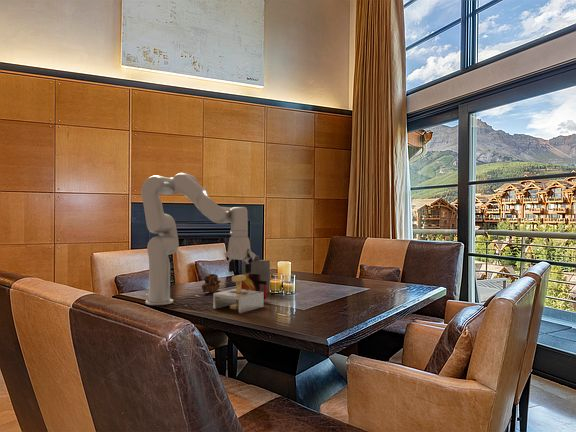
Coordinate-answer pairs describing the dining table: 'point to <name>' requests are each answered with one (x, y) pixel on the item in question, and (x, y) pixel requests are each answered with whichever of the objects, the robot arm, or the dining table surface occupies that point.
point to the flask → (260, 271)
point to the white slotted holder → (246, 299)
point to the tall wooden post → (237, 289)
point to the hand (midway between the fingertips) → (239, 272)
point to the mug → (253, 283)
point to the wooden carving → (211, 283)
